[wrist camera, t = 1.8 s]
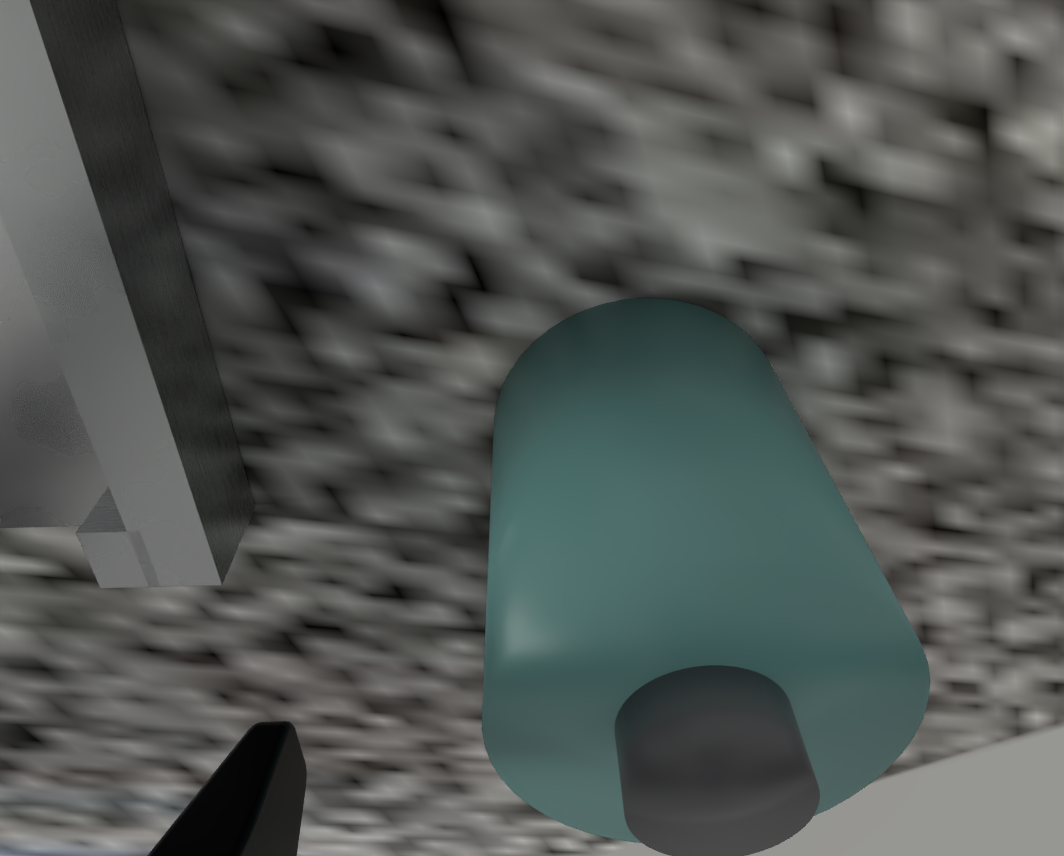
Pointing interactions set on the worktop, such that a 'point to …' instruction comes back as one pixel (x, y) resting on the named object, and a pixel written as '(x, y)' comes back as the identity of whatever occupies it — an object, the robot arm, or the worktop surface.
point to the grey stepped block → (103, 318)
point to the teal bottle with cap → (680, 594)
